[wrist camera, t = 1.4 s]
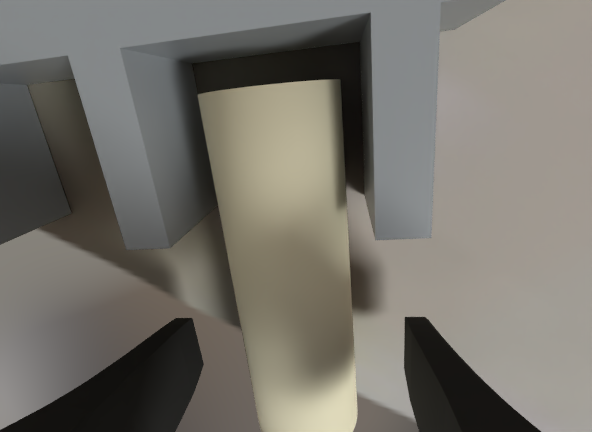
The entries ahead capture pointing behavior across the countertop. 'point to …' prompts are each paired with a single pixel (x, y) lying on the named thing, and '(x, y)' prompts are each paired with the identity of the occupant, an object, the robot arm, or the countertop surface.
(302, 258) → the cream cylinder column
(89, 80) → the grey comb rack
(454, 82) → the countertop surface
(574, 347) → the countertop surface
